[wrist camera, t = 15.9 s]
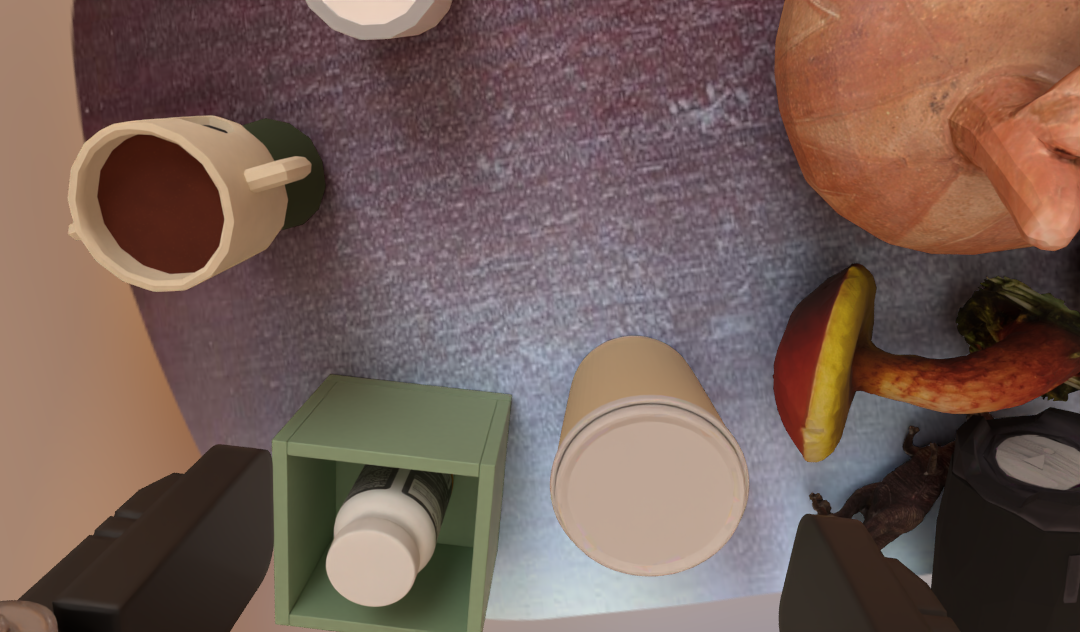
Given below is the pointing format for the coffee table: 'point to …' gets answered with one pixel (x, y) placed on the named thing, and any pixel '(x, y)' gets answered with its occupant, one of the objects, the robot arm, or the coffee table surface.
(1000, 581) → the portable speaker
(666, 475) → the coffee cup
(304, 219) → the character mug
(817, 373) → the mushroom
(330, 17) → the shot glass
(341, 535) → the pill bottle
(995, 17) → the jug
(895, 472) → the dinosaur model
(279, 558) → the green open-top storage bin
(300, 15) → the coffee table surface
